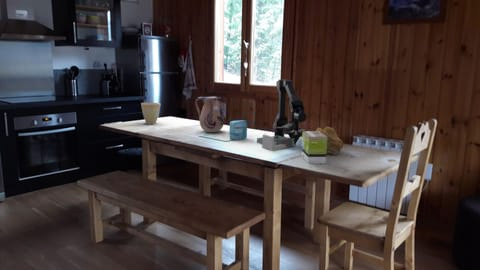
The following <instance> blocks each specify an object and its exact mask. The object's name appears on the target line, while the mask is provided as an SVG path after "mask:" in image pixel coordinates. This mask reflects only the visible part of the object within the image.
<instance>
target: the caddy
mask: <svg viewBox="0 0 480 270" xmlns="http://www.w3.org/2000/svg"><path fill="white" fill-rule="evenodd" d="M285 137H286V138H278V139H277V145H280V144H286V148H291V147H295V146H296V145H297V143H296V144H294V139H292V138H290V137H289V136H285Z"/></svg>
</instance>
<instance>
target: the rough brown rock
mask: <svg viewBox="0 0 480 270" xmlns="http://www.w3.org/2000/svg"><path fill="white" fill-rule="evenodd" d="M315 131H320V132H321V133H322V134H324V135H325V136H327V152H326V155H327V154H331V155H332V156H336V155H339V152H340V151H341V150H342V149H343V147H344V141H343V140H342V139H341V138H340V137H339V135H338V134H337V131H336V130H335V129H334V128H333V127H330V126H325V127H324V128H323V129H322V128H321V127H317V128H316V130H315Z"/></svg>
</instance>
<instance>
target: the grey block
mask: <svg viewBox="0 0 480 270" xmlns="http://www.w3.org/2000/svg"><path fill="white" fill-rule="evenodd" d="M272 136H273V135H267V134H262V137H263V143H262V144H261V146H262V148H263V149H265V150H270V151H272V152H273V151H276V150H282V149H286V148H287V147H286V144H280V145H277V142H274V137H272Z"/></svg>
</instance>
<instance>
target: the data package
mask: <svg viewBox="0 0 480 270" xmlns="http://www.w3.org/2000/svg"><path fill="white" fill-rule="evenodd" d="M247 136H248V121H247V120H243V119H240V120H238V119H237V120H232V121H230V122H229V137H228V138H229V139H230V140H233V141H239V140H243V139H247V138H248V137H247Z"/></svg>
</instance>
